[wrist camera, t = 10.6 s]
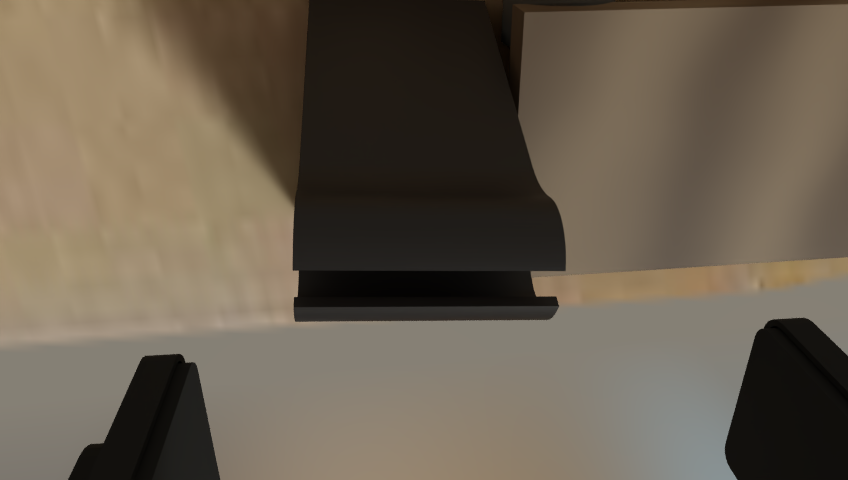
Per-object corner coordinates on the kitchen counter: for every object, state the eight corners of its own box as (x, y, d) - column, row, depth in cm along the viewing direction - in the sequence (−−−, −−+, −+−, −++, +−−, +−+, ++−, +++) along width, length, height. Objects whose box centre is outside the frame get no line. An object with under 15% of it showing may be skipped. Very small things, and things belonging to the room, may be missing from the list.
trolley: (867, -18, 25) (966, 1, 21) (804, 205, 29) (877, 255, 25) (493, -9, 23) (524, 12, 20) (483, 223, 28) (507, 278, 24)
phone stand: (310, -12, 23) (288, 77, 12) (483, -1, 24) (603, 92, 13) (310, 226, 27) (294, 446, 16) (458, 229, 28) (533, 440, 17)
